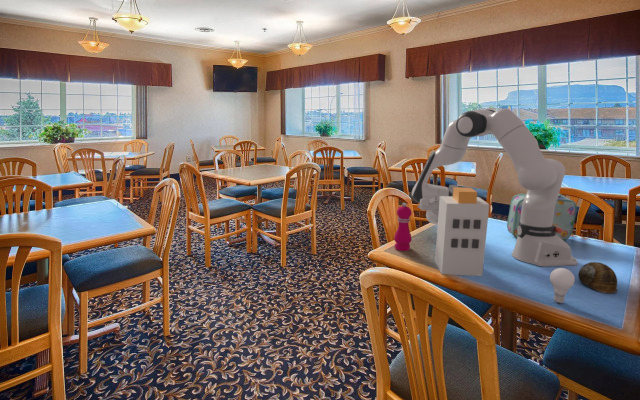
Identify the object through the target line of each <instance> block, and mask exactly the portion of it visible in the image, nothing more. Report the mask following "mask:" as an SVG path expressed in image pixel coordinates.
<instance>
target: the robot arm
mask: <svg viewBox="0 0 640 400" xmlns="http://www.w3.org/2000/svg"><path fill="white" fill-rule="evenodd" d="M491 134H492V135H493V136H494V137H495V139H496V140H497V141H498V143H499V144H500V145H501V147H502V149H503V150H504V151H505V152H506V154H507V155H508V157H509V159H510V160H511V163H512V164H513V168H514V169H515V171H516V174H517V180H518V183H519V185H520V186H521V187H522V188H523V189H525V190H526V191H527V192H526V193H525V194H526V196H525V199H524V200H523V203H522V210H521V219H520V221H519V225H518V231H517V232H518V234H517V235H518V237H517V238H516V242H515V245H514V248H513V250H512V252H511V257H513V258H514V259H515V260H516V259H517V260H518V261H521V262H524V263H529V264H533V265H536V266H539V267H542V268H543V267H567V266H578V260H577V259H576V258H575V257H574V256H573V255H572V250H571V246H570V245H569V244H568V243H567V242H565V240H564V241H563V240H562V239H561V238H560V237H558V236H557V235H556V232H557V233H559V234H560V233H561V232H562V229H561V228H559V227H556V226H554V225H552V224H553V217H554V210H555V205H556V201H557V198H558V195H559V194H560V191H561V188H562V183H563V180H564V178H565V175H566V168H565V166H564V164H563V163H562V162H560V161H558V160H556V159H553V158H545V157H544V155H543V153H542V151H541V148H540V147H539V142H538V140H537V139H536V138H535V136H534V134H532V132H531V131H530V130H529V128H528V127H527V125H526V124H525V123H524V122H523V121H522V119H521V118H520V117H518V115H517V114H516V113H514V112H513V111H512V110H511V109H510V108H499V109H497V110H493V109H488V108H486V109H473V110H469V111H465V112H463V113H461V114H460V115H459V116H458V117H457V119H455V120H452V121H450V123H449V124H448V126H447V127H446V130H445V133H444V134H443V137H442V141H441V143H440V146H439V147H438V148H437V150H434V151H432V152H431V153H430V155H428V159H427V160H426V162H425V164H424V166H423V168H422V170H421V172H420V175H419V177H418V179H417V181H416V183H415V185H414V186H413V187H412V190H411V198H412V199H413V200H414V202H415V203H419V204H418V205H417V208H418V209H420V210H421V211H426V214H425V217H426V220H427V221H428V222H429V223H430V224H432V225H438V214H439V200H440V196H453V194H452V193H451V192H450V191H449V186H448V187H447V186H443V185H438V184H437V185H436V184H433V183H428V182H429V178H430V176H431V175H432V172H433V171H434V170H436V169H437V168H438V167H442V166H449V165H455V164H457V163H459V162H460V161H462V160H463V158H464V157H465V154H466V153H467V152H466V151H467V148H468V145H469V142H470V139H471V138H474V137H484V136H486V135H491Z"/></svg>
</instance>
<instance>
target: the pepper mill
mask: <svg viewBox="0 0 640 400" xmlns="http://www.w3.org/2000/svg"><path fill="white" fill-rule="evenodd" d="M401 205H402V206H399V207H398V208H397V210H396V215H397V222H398V226H397V230H396V231H395V234H394V237H393V240H394V242H395V244H394V248H395V250H397V251H400V252H402V251H403V252H408V251H410V249H411V245H410V244H411V242H412V235H411V232H410V229H409V223H410V222H411V220H410V219H411V218H410V217H411V216H412V209H411V208H410V207H409V206H407V205H408V204H407V203H406V202H403V203H402V204H401Z"/></svg>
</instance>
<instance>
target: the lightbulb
mask: <svg viewBox="0 0 640 400" xmlns="http://www.w3.org/2000/svg"><path fill="white" fill-rule="evenodd" d="M575 280H576V277H575V276H574V274H573V272H572V271H571V270H569V269H567V268H564V267H558V268H554V269H553V270H552V271H551V273H550V275H549V281H550V283H551V285H552V287H553V292H554V296H553V301H555V303H557V304H563V303H565V297H566V294H568V293H567V292H568V291H569V290H570V289H571V288H572V287H573V286H574V284H575Z"/></svg>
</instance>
